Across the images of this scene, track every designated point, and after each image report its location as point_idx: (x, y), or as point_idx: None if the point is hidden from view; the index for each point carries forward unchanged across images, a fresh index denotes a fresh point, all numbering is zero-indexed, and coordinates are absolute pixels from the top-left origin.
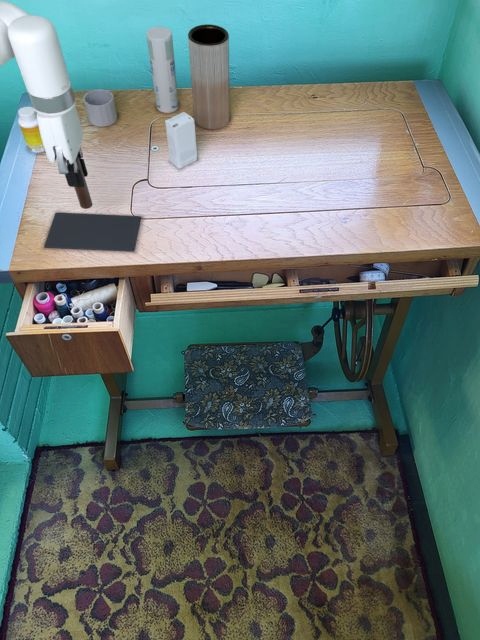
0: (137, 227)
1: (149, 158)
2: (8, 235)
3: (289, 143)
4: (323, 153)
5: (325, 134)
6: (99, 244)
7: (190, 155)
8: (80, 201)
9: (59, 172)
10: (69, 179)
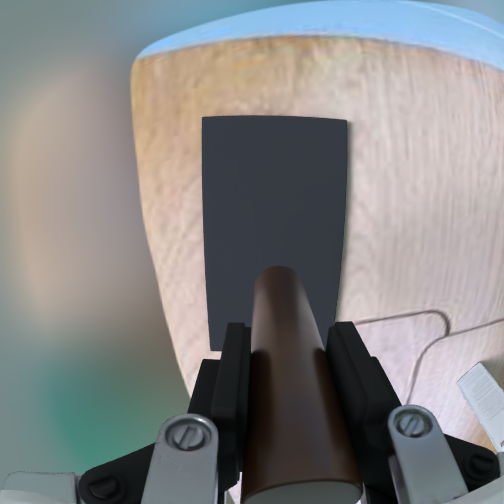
0: None
1: (497, 321)
2: (248, 18)
3: None
4: None
5: None
6: (220, 271)
7: (469, 405)
8: (256, 292)
9: (6, 482)
10: (195, 388)
